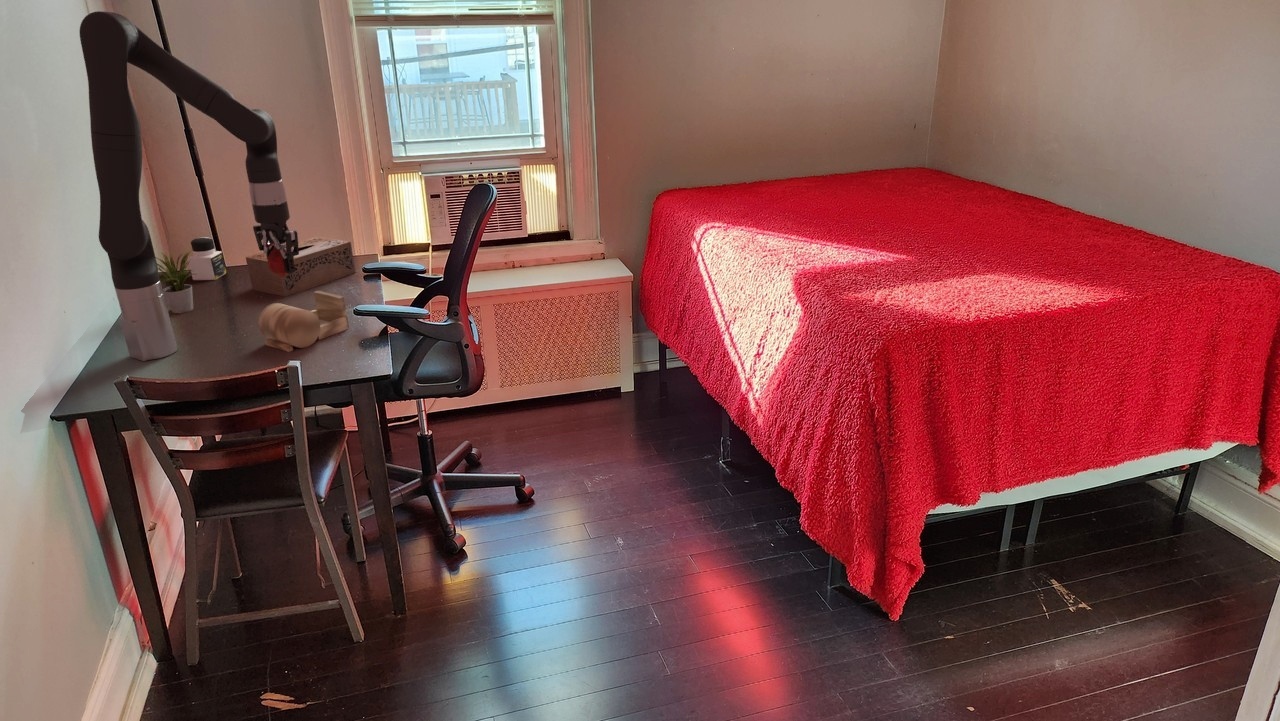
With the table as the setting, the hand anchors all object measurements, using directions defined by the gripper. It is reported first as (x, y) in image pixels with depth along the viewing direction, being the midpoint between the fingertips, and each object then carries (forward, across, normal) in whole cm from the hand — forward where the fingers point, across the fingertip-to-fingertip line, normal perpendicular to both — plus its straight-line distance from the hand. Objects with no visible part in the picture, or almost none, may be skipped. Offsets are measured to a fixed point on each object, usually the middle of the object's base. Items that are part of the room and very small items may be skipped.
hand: (282, 270), depth 199 cm
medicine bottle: (+18, -69, +19) cm, 74 cm away
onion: (+2, 0, 0) cm, 2 cm away
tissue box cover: (+18, -40, +31) cm, 54 cm away
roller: (+17, +2, -2) cm, 18 cm away
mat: (+17, 0, +7) cm, 19 cm away
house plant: (+18, -47, -2) cm, 50 cm away
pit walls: (+17, 0, +7) cm, 19 cm away
